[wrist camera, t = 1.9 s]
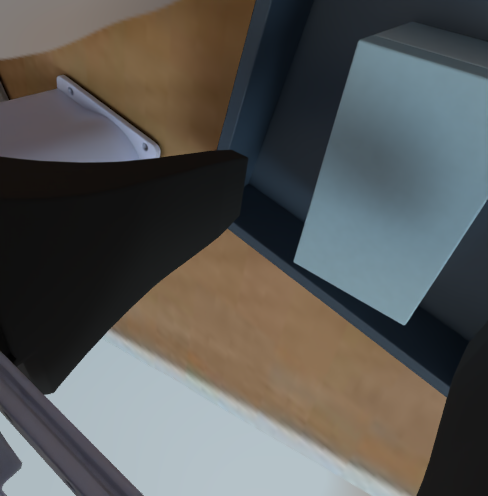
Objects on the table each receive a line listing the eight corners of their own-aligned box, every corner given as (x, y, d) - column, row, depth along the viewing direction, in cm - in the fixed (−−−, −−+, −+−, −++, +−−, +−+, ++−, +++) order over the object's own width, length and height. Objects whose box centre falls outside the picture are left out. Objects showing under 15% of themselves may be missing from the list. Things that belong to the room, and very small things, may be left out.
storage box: (244, 181, 22) (200, 208, 19) (357, -146, 12) (299, -170, 10) (481, 351, 18) (463, 410, 16) (900, 75, 9) (1011, 120, 6)
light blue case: (340, 214, 18) (292, 262, 15) (411, 21, 13) (357, 39, 10) (438, 262, 17) (404, 326, 14) (565, 62, 11) (553, 98, 8)
